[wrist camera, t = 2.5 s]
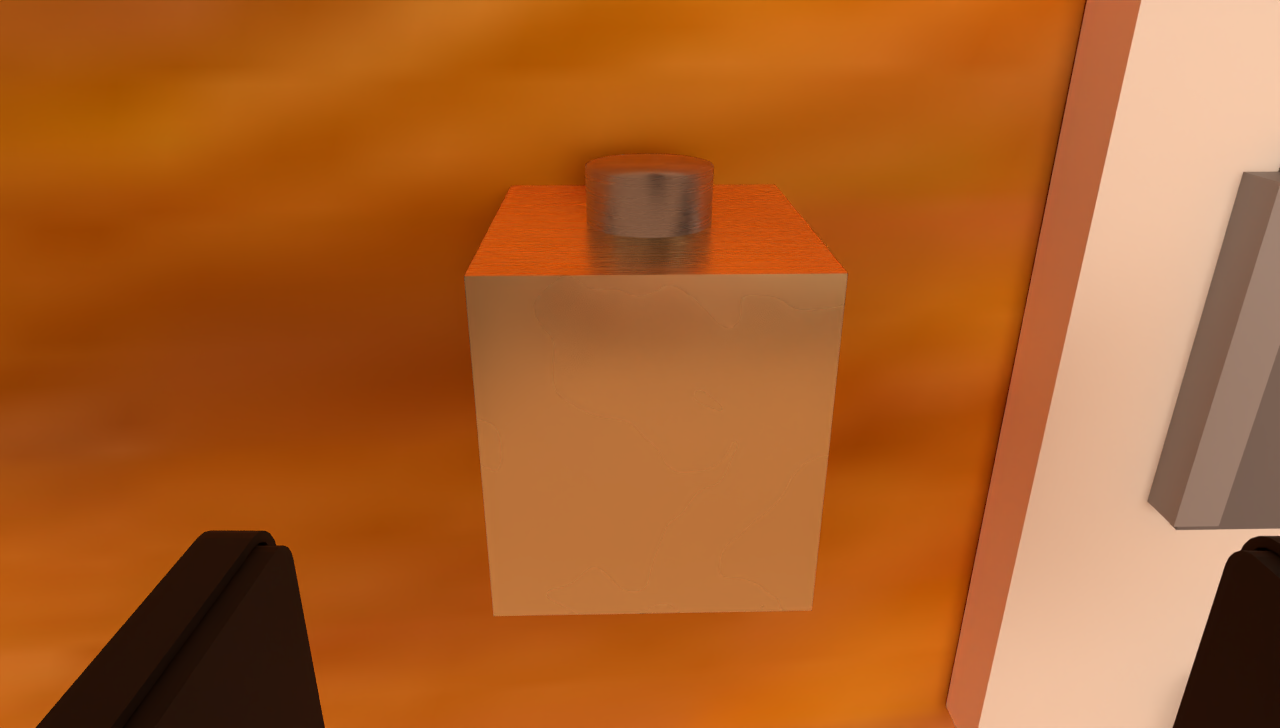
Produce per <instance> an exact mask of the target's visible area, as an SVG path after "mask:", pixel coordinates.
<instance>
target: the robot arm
mask: <svg viewBox="0 0 1280 728" xmlns="http://www.w3.org/2000/svg"><path fill="white" fill-rule="evenodd" d="M36 728H325V726H324V721H323V716H322V710H321V705H320V700H319V694H318V689H317V684H316V678H315V673H314V668H313V662H312V657H311V651H310V646H309V641H308V635H307V630H306V625H305V619H304V614H303V609H302V603H301V598H300V592H299V587H298V582H297V576H296V571H295V566H294V560H293V557H292V553H291V551H290V550H289V548H288V547H286V546H276V544H275V540H274V539H273V537H272V536H271V534H270V533H268V532H266V531H207V532H204V533H203V534H202V535H200V536H199V537H198V538H197V539H196V540H195V542H194V543H193V544H192V545H191V546H190V547H189V549H188V550H187V551H186V552H185V553H184V554H183V556H182V557H181V558H180V559H179V560H178V561H177V563H176V564H175V565H174V566H173V567H172V568H171V570H170V571H169V572H168V573H167V574H166V576H165V577H164V578H163V579H162V580H161V581H160V583H159V584H158V585H157V586H156V587H155V588H154V590H153V591H152V592H151V593H150V594H149V595H148V597H147V598H146V599H145V600H144V601H143V602H142V604H141V605H140V606H139V607H138V608H137V610H136V611H135V612H134V613H133V614H132V615H131V617H130V618H129V619H128V620H127V621H126V622H125V624H124V625H123V626H122V627H121V628H120V629H119V631H118V632H117V633H116V634H115V635H114V636H113V638H112V639H111V640H110V641H109V642H108V644H107V645H106V646H105V647H104V648H103V649H102V651H101V652H100V653H99V654H98V655H97V656H96V658H95V659H94V660H93V661H92V662H91V663H90V665H89V666H88V667H87V668H86V669H85V670H84V672H83V673H82V674H81V675H80V676H79V678H78V679H77V680H76V681H75V682H74V683H73V685H72V686H71V687H70V688H69V689H68V690H67V692H66V693H65V694H64V695H63V696H62V697H61V699H60V700H59V701H58V702H57V703H56V704H55V706H54V707H53V708H52V709H51V710H50V712H49V713H48V714H47V715H46V716H45V717H44V719H43V720H42V721H41V722H40V723H39V724H38V726H37V727H36ZM1173 728H1280V536H1257V537H1254V538H1251V539H1249V540H1248V541H1247V542H1246V543H1245V544H1244V545H1243V547H1242V549H1241V551H1237V552H1234V553H1233V554H1232V555H1231V556H1230V557H1229V558H1228V560H1227V562H1226V564H1225V567H1224V570H1223V573H1222V576H1221V579H1220V582H1219V585H1218V588H1217V592H1216V595H1215V598H1214V601H1213V604H1212V607H1211V610H1210V613H1209V616H1208V619H1207V623H1206V626H1205V629H1204V632H1203V635H1202V638H1201V641H1200V644H1199V647H1198V650H1197V654H1196V657H1195V660H1194V663H1193V666H1192V669H1191V672H1190V675H1189V678H1188V681H1187V685H1186V688H1185V691H1184V694H1183V697H1182V700H1181V703H1180V706H1179V709H1178V712H1177V716H1176V719H1175V722H1174V725H1173Z"/></svg>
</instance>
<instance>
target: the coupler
mask: <svg viewBox="0 0 1280 728" xmlns="http://www.w3.org/2000/svg"><path fill="white" fill-rule="evenodd" d="M713 173H714V165H713V164H712V163H711V162H709V161H707V160H704V159H700V158H696V157H691V156H684V155H674V154H654V153H643V154H622V155H613V156H606V157H601V158H597V159H594V160H591V161H589V162H587V163H586V165H585V178H586V185H516V186H511V187H510V189H509V191H508V193H507V194H506V196H505V198H504V200H503V202H502V204H501V206H500V208H499V210H498V212H497V214H496V216H495V218H494V219H493V221H492V223H491V225H490V227H489V229H488V231H487V233H486V235H485V237H484V239H483V241H482V243H481V244H480V246H479V248H478V250H477V252H476V254H475V256H474V258H473V260H472V262H471V264H470V266H469V268H468V269H467V271H466V273H465V275H464V281H465V293H466V304H467V316H468V328H469V339H470V351H471V362H472V374H473V385H474V397H475V408H476V420H477V431H478V443H479V454H480V466H481V478H482V489H483V501H484V512H485V524H486V535H487V547H488V558H489V570H490V581H491V593H492V604H493V616H528V615H586V614H644V613H701V612H759V611H812V604H813V595H814V586H815V576H816V567H817V558H818V548H819V539H820V529H821V520H822V511H823V501H824V492H825V483H826V473H827V464H828V455H829V445H830V436H831V427H832V417H833V408H834V399H835V389H836V380H837V371H838V361H839V352H840V343H841V333H842V324H843V315H844V305H845V296H846V287H847V277H848V273H847V272H846V271H845V269H844V268H843V267H842V266H841V264H840V263H839V262H838V261H837V260H836V258H835V257H834V256H833V255H832V253H831V252H830V251H829V250H828V249H827V247H826V246H825V245H824V244H823V242H822V241H821V240H820V239H819V238H818V236H817V235H816V234H815V233H814V231H813V230H812V229H811V228H810V227H809V225H808V224H807V223H806V222H805V220H804V219H803V218H802V217H801V216H800V214H799V213H798V212H797V211H796V209H795V208H794V207H793V206H792V205H791V203H790V202H789V201H788V200H787V198H786V197H785V196H784V195H783V194H782V192H781V191H780V190H779V189H778V187H777V186H776V185H775V184H765V185H713Z"/></svg>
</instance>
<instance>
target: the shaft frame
mask: <svg viewBox="0 0 1280 728" xmlns="http://www.w3.org/2000/svg"><path fill="white" fill-rule="evenodd" d="M1257 536H1280V0H1087V3H1086V8H1085V13H1084V18H1083V23H1082V28H1081V33H1080V38H1079V42H1078V47H1077V52H1076V57H1075V62H1074V67H1073V72H1072V77H1071V82H1070V87H1069V92H1068V97H1067V102H1066V107H1065V112H1064V117H1063V122H1062V127H1061V132H1060V137H1059V142H1058V147H1057V152H1056V157H1055V162H1054V167H1053V172H1052V177H1051V182H1050V187H1049V192H1048V197H1047V202H1046V207H1045V212H1044V217H1043V222H1042V227H1041V232H1040V237H1039V242H1038V247H1037V252H1036V257H1035V262H1034V267H1033V272H1032V277H1031V282H1030V287H1029V292H1028V297H1027V302H1026V307H1025V312H1024V317H1023V322H1022V327H1021V332H1020V337H1019V342H1018V347H1017V352H1016V357H1015V362H1014V367H1013V372H1012V377H1011V382H1010V387H1009V392H1008V397H1007V402H1006V407H1005V412H1004V417H1003V422H1002V427H1001V432H1000V437H999V442H998V447H997V452H996V457H995V462H994V467H993V472H992V477H991V482H990V487H989V492H988V497H987V502H986V507H985V512H984V517H983V522H982V527H981V532H980V537H979V542H978V547H977V552H976V557H975V562H974V567H973V572H972V577H971V582H970V587H969V592H968V597H967V602H966V607H965V612H964V617H963V622H962V627H961V632H960V637H959V642H958V647H957V652H956V657H955V662H954V667H953V672H952V677H951V682H950V687H949V692H948V697H947V702H946V708H947V710H948V712H949V714H950V716H951V718H952V721H953V723H954V725H955V727H956V728H1173V725H1174V722H1175V719H1176V716H1177V712H1178V709H1179V706H1180V703H1181V700H1182V697H1183V694H1184V691H1185V688H1186V685H1187V681H1188V678H1189V675H1190V672H1191V669H1192V666H1193V663H1194V660H1195V657H1196V654H1197V650H1198V647H1199V644H1200V641H1201V638H1202V635H1203V632H1204V629H1205V626H1206V623H1207V619H1208V616H1209V613H1210V610H1211V607H1212V604H1213V601H1214V598H1215V595H1216V592H1217V588H1218V585H1219V582H1220V579H1221V576H1222V573H1223V570H1224V567H1225V564H1226V562H1227V560H1228V558H1229V557H1230V556H1231V555H1232V554H1233V553H1234V552H1237V551H1241V549H1242V547H1243V545H1244V544H1245V543H1246V542H1247V541H1248V540H1249V539H1251V538H1254V537H1257Z"/></svg>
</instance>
